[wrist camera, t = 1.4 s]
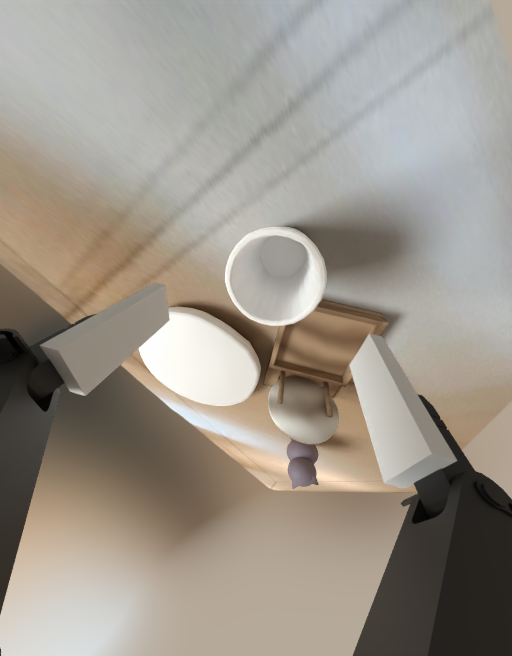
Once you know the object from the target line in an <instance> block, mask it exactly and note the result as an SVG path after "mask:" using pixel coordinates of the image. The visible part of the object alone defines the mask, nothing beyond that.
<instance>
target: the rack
mask: <svg viewBox="0 0 512 656" xmlns="http://www.w3.org/2000/svg"><path fill="white" fill-rule="evenodd" d="M388 324H389V323H388V322H387V320H386V319H385V318H384V316H383V315H382V314H381V313H377V312H372V311H368V310H364V309H359V308H355V307H350V306H346V305H342V304H337V303H333V302H328V301H324V300H321V301H320V302H319V304H318V305H317V307H316V308H315V310H314V311H312V312H311V313H310V314H309V315H308V316H306V317H305V318H304V319H302V320H300V321H298V322H296V323H294V324H289V325H284V326H279V329H278V333H277V336H276V340H275V344H274V347H273V351H272V354H271V358H270V362H269V365H268V369H267V372H266V376H265V380H264V385H267V386H271V387H272V388H271V390H270V393H269V397H268V408H269V412H270V415H271V417H272V419H273V421H274V422H275V424H276V425H277V426H278V428H279V429H280V430H281V431H282V432H283V433H285V434H286V435H287V436H289V437H290V438H292V439H294V440H296V441H298V442H301V443H305V444H319V443H323V442H325V441H327V440H328V439H329V438H330V437H331V436H332V435H333V434H334V433H335V431H336V429H337V427H338V423H339V413H338V409H337V407H336V404H335V402H334V400H333V399H332V397H333V395H334V394H335V392H336V391H337V389H338V388H339V386H344V387H346V385H347V384H348V382H349V381H350V379H351V378H352V373H351V370H350V366H349V365H350V363H351V362H352V360H353V359H354V357H355V356H356V354H357V352H358V351H359V349H360V348H361V346H362V344H363V343H364V341H365V340H366V338H367V337H368V335H369V334H373V335H377V336H380V335H381V334H382V332H383V331H384V329H385V328H386V326H387V325H388Z"/></svg>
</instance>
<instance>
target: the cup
mask: <svg viewBox="0 0 512 656" xmlns="http://www.w3.org/2000/svg"><path fill="white" fill-rule="evenodd" d="M225 282H226V286H227V290H228V293H229V295H230V297H231V299H232V301H233V303H234V304H235V305H236V306H237V308H238V309H239V310H240V311H241V312H242V313H243V314H244V315H246V316H247V317H248V318H249V319H251V320H254V321H256V322H258V323H261V324H266V325H270V326H284V325H289V324H294V323H296V322H298V321H300V320H302V319H304V318H305V317H306V316H308V315H309V314H310V313H311V312H312V311H314V310H315V308H316V307H317V305H318V304H319V302H320V301H321V300H322V297H323V295H324V293H325V290H326V288H327V271H326V266H325V262H324V259H323V257H322V255H321V253H320V252H319V250H318V248H317V246H316V245H315V244H314V243H313V242H312V241H311V240H310V239H309V238H308V237H307V236H306V235H305V234H303V233H302V232H300V231H299V230H296V229H294V228H291V227H286V226H279V227H269V228H262V229H259V230H257V231H254V232H251V233H249V234H247V235H246V236H245V237H244V238H243V239H242V240H241V241H240V242H239V243H238V244H237V245H236V247H235V248H234V250H233V251H232V253H231V254H230V256H229V260H228V263H227V266H226V274H225Z"/></svg>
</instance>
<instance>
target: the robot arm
mask: <svg viewBox="0 0 512 656" xmlns="http://www.w3.org/2000/svg"><path fill="white" fill-rule="evenodd" d="M169 320H170V319H169V311H168V303H167V295H166V287H165V285H162V284H158V283H153V284H151V285H149V286H147V287H145V288H143V289H142V290H140V291H138V292H136V293H134V294H132V295H131V296H129V297H127V298H125V299H123V300H121V301H120V302H118V303H116V304H114V305H112V306H111V307H109V308H107V309H105V310H103V311H101V312H100V313H97V314H94V315H91V316H87V317H85V318H83V319H81V320H79V321H77V322H75V324H72V325H70V326H68V327H66V329H62V330H60V331H59V332H57V333H55V334H53V335H51V336H49V337H47V338H45V339H43V340H41V341H40V342H38V343H36V344H34V345H32V346H30V347H28V345H27V344H26V343H25V341H24V340H23V339H22V337H21V335H20V334H19V333H18V332H17V331H16V330H13V329H0V613H1V610H2V606H3V602H4V599H5V595H6V591H7V588H8V583H9V580H10V576H11V573H12V569H13V565H14V562H15V558H16V554H17V551H18V547H19V543H20V540H21V536H22V532H23V529H24V525H25V521H26V517H27V514H28V510H29V506H30V503H31V499H32V495H33V492H34V488H35V484H36V481H37V477H38V473H39V470H40V466H41V462H42V458H43V455H44V451H45V447H46V444H47V440H48V436H49V433H50V428H51V425H52V422H53V418H54V414H55V410H56V407H57V403H58V399H59V396H60V390H59V389H58V387H60V386H61V385H62V384H64V383H65V384H66V386H67V387H68V389H69V390H70V391H71V392H74V393H77V394H81V395H84V396H86V395H87V394H88V393H89V392H90V391H91V390H93V389H94V388H95V387H96V386H97V385H98V384H99V383H100V382H102V381H103V380H104V379H105V378H106V377H107V376H108V375H109V374H110V373H112V372H113V371H114V370H115V369H116V368H117V367H118V366H119V365H120V364H122V363H123V362H124V361H125V360H126V359H127V358H128V357H129V356H131V355H132V354H133V353H134V352H135V351H136V350H137V349H138V348H139V347H141V346H142V345H143V344H144V343H145V342H146V341H147V340H148V339H149V338H151V337H152V336H153V335H154V334H155V333H156V332H157V331H158V330H159V329H161V328H162V327H163V326H164V325H165V324H166V323H167V322H168V321H169ZM349 366H350V370H351V373H352V376H353V380H354V383H355V386H356V390H357V393H358V397H359V400H360V403H361V407H362V410H363V413H364V417H365V420H366V424H367V427H368V430H369V434H370V437H371V440H372V444H373V447H374V451H375V454H376V457H377V461H378V464H379V467H380V471H381V474H382V478H383V481H384V483H385V484H389V485H392V486H395V487H399V488H402V489H405V488H407V487H409V486H411V485H412V484H414V485H415V487H416V490H417V492H418V494H416V495H414V496H412V497H410V498H408V499H405V500H404V501H403V502H402V503H401V504H402V506H406V505H409V504H410V506H409V509H408V512H407V514H406V517H405V520H404V523H403V525H402V528H401V530H400V533H399V535H398V538H397V541H396V543H395V546H394V549H393V551H392V554H391V557H390V559H389V562H388V564H387V567H386V570H385V572H384V575H383V577H382V580H381V583H380V585H379V588H378V591H377V593H376V596H375V598H374V601H373V604H372V606H371V609H370V612H369V614H368V617H367V619H366V622H365V625H364V627H363V630H362V633H361V635H360V638H359V640H358V643H357V646H356V649H355V651H354V654H353V656H512V499H511V498H510V497H509V496H508V495H507V494H506V492H505V491H504V490H503V489H502V488H501V487H499V486H498V485H497V484H496V483H495V482H494V481H492V480H491V479H490V478H488V477H486V476H485V475H483V474H482V473H479V472H476V471H475V470H474V469H473V467H472V466H471V464H470V463H469V461H468V460H467V458H466V456H465V455H464V453H463V452H462V450H461V449H460V447H459V446H458V444H457V442H456V441H455V439H454V438H453V436H452V435H451V433H450V432H449V430H447V427H446V425H445V424H444V422H443V421H442V420H440V416H439V415H438V413H437V412H436V410H435V408H434V407H433V406H432V405H431V404H430V403H429V402H428V401H427V400H426V399H425V398H424V397H423V396H422V395H418V394H417V393H416V391H415V390H414V388H413V386H412V385H411V383H410V382H409V380H408V378H407V377H406V375H405V373H404V372H403V370H402V368H401V367H400V365H399V363H398V362H397V360H396V358H395V357H394V355H393V353H392V352H391V350H390V349H389V347H388V345H387V344H386V342H385V340H384V339H383V337H382V336H377V335H373V334H369V335H368V337H367V338H366V340H365V341H364V343H363V344H362V346H361V348H360V349H359V351H358V352H357V354H356V356H355V357H354V359H353V360H352V362H351V363H350V365H349ZM0 656H1V649H0Z"/></svg>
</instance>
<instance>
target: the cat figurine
mask: <svg viewBox="0 0 512 656" xmlns="http://www.w3.org/2000/svg"><path fill="white" fill-rule="evenodd" d="M291 440H292V441H291V442H290V443H289V445H288V447H287V455H288V458H289V459H290V463H289V466H288V474H289V476H290V478H291V480H292V483H293V489H294V488H296V487H297V486H302V487H306V486H309V485H311V484H315V485H318V482H317V479H316V469H315V466H314V463H315V462H316V461H317V458H318V450H317V448H316V446H315V445H314V444H305V443H301V442H298V441H296V440H294V439H292V438H291Z"/></svg>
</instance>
